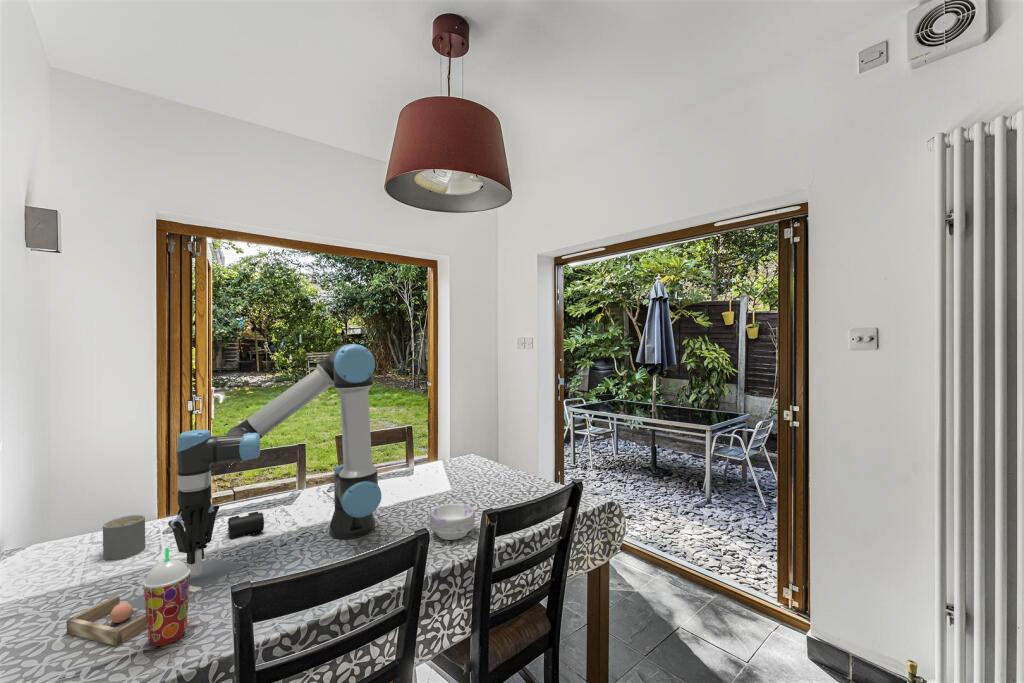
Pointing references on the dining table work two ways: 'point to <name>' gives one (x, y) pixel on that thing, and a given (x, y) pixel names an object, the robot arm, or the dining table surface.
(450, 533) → the paper bowls
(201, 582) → the lane
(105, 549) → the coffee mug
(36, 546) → the dining table surface
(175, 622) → the smoothie
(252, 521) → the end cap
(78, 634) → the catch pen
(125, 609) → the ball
